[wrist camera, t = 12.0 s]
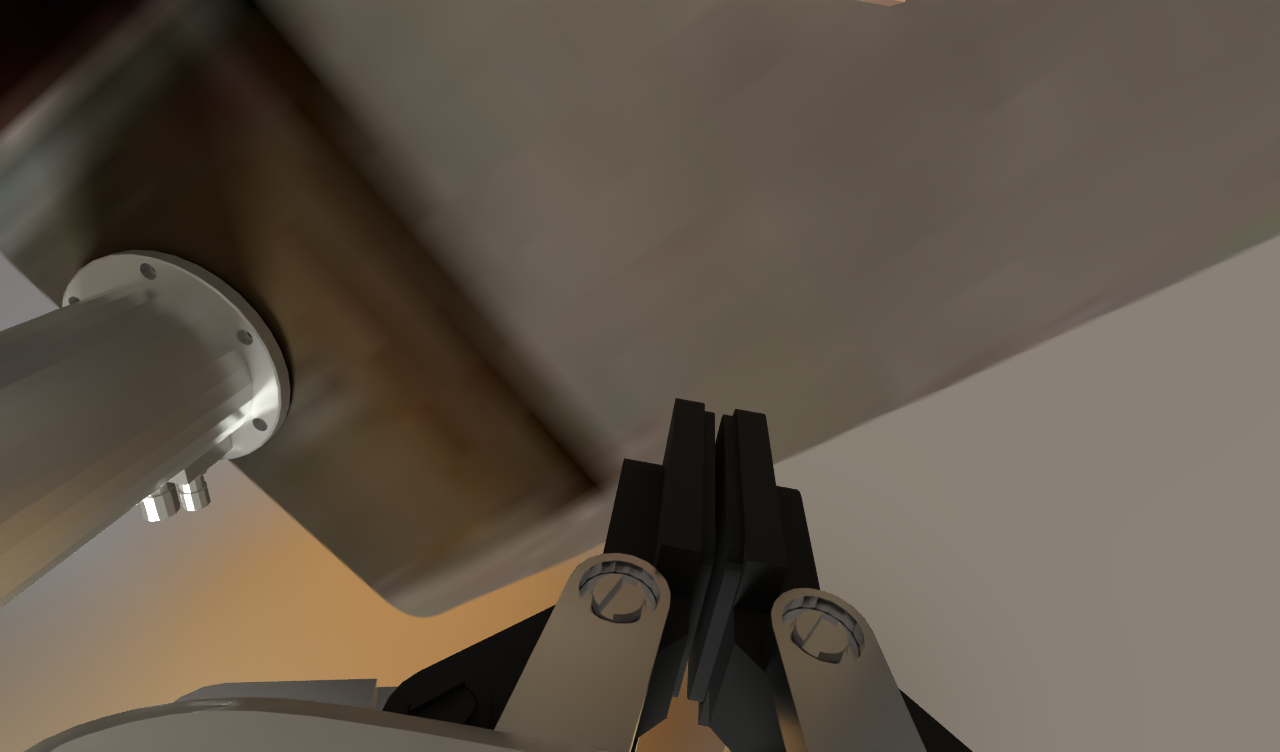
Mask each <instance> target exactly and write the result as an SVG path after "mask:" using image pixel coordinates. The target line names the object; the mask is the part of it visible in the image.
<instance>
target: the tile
mask: <svg viewBox="0 0 1280 752" xmlns="http://www.w3.org/2000/svg"><path fill="white" fill-rule="evenodd" d="M858 1H864V2H869V3H875V4H881V5H886V6H892V5H896V4H899V3H903V2H905V0H858Z"/></svg>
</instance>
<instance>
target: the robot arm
mask: <svg viewBox="0 0 1280 752" xmlns="http://www.w3.org/2000/svg"><path fill="white" fill-rule="evenodd" d="M289 402H290V383H289V376H288V370H287V367H286V364H285V361H284V358H283V355H282V352H281V350H280V348H279V346H278V344H277V342H276V341H275V339H274V337H273V335H272V333H271V331H270V330H269V328H268V327H267V326H266V324H265V323H264V322H263V320H262V319H261V317H260V316H259V315H258V313H257V312H256V311H255V310H254V309H253V308H252V307H251V306H250V305H249V304H248V303H247V301H246V300H245V299H244V298H243V297H242V296H241V295H240V294H239V293H237V292H236V291H235V290H234V289H232V288H231V287H230V286H229V285H227V284H226V283H225V282H224V281H222V280H221V279H220V278H218V277H217V276H215V275H213V274H212V273H210V272H208V271H207V270H205V269H203V268H202V267H200V266H198V265H196V264H194V263H192V262H189V261H187V260H184V259H182V258H180V257H177V256H174V255H170V254H166V253H162V252H157V251H151V250H128V251H123V252H117V253H113V254H110V255H108V256H105V257H102V258H99V259H96V260H93V261H92V262H90V263H89V264H87V265H86V266H84V267H83V268H81V269H80V270H79V271H78V272H77V273H76V274H75V276H74V277H73V278H72V279H71V281H70V282H69V284H68V286H67V288H66V291H65V293H64V296H63V304H62V308H60V309H57V310H54V311H52V312H49V313H47V314H44V315H42V316H39V317H37V318H34V319H31V320H29V321H26V322H23V323H21V324H18V325H15V326H13V327H10V328H8V329H5V330H2V331H0V608H2V607H3V606H5V605H6V604H7V603H9V602H10V601H11V600H13V599H14V598H15V597H17V596H18V595H19V594H20V593H22V592H23V591H24V590H26V589H27V588H28V587H30V586H31V585H32V584H34V583H35V582H36V581H38V580H39V579H40V578H42V577H43V576H44V575H46V574H47V573H48V572H49V571H51V570H52V569H53V568H55V567H56V566H57V565H59V564H60V563H61V562H63V561H64V560H65V559H67V558H68V557H69V556H71V555H72V554H73V553H74V552H76V551H77V550H78V549H80V548H81V547H82V546H84V545H85V544H86V543H88V542H89V541H90V540H91V539H93V538H94V537H96V536H97V535H98V534H99V533H101V532H102V531H103V530H105V529H106V528H107V527H109V526H110V525H111V524H113V523H114V522H115V521H116V520H118V519H119V518H121V517H122V516H123V515H125V514H126V513H127V512H129V511H130V510H131V509H132V508H134V507H135V506H136V505H138V506H139V509H140V513H141V515H142V517H143V519H145V520H148V521H160V520H163V519H167V518H169V517H171V516H173V515H175V514H176V513H177V512H178V511H179V509H180V502H179V498H178V494H177V490H176V486H175V483H176V484H179V493H180V497H181V501H182V504H183V508H184V509H186V510H188V511H196V510H200V509H203V508H205V507H206V506H208V504H209V503H210V502H211V501H210V497H209V492H208V488H207V484H206V482H205V481H204V477H203V474H205V473H206V471H207V469H208V468H209V467H211V466H212V465H213V464H215V463H216V462H217V461H218V460H223V459H233V458H237V457H240V456H243V455H247V454H249V453H251V452H253V451H254V450H256V449H257V448H259V447H261V446H262V445H263V444H264V443H266V442H267V441H268V440H269V439H270V438H271V437H272V436H273V435H275V434H276V433H277V431H278V430H279V428H280V427H281V425H282V424H283V422H284V420H285V417H286V414H287V411H288V408H289ZM688 657H689V659H688ZM687 661H688V685H687V698H688V700H693V701H698V702H699V718H698V721H699V722H698V724H699V725H703V726H708V727H710V728H711V729H712V730H713V731H714V732H715V734H716V735H717V736H718V737H719V738H720V739H721V740H722V741H723V743H724V744H725V745H726V746H725V749H724V752H972V751H971V750H970V749H969V748H968V747H967V746H965V745H964V744H963V743H962V742H961V741H960V740H958V739H957V738H956V737H955V736H954V735H952V734H951V733H950V732H949V731H948V730H947V729H946V728H944V727H943V726H942V725H941V724H940V723H939V722H937V721H936V720H935V719H934V718H933V717H931V716H930V715H929V714H928V713H927V712H926V711H924V710H923V709H922V708H921V707H920V706H919V705H918V704H916V703H915V702H914V701H913V700H911V699H910V698H909V697H908V696H907V695H906V694H905V693H903V692H902V691H901V690H900V689H899V688H898V687H897V684H896V682H895V680H894V677H893V675H892V673H891V671H890V669H889V666H888V664H887V662H886V660H885V658H884V655H883V653H882V651H881V649H880V646H879V644H878V642H877V640H876V638H875V635H874V633H873V631H872V629H871V628H870V626H869V624H868V623H867V621H866V620H865V618H864V617H863V616H862V615H861V614H860V613H859V612H858V611H857V610H856V609H855V608H854V607H853V606H851V605H850V604H848V603H847V602H845V601H844V600H842V599H841V598H839V597H837V596H835V595H832V594H830V593H827V592H825V591H822V590H820V587H819V582H818V577H817V572H816V567H815V562H814V557H813V552H812V547H811V542H810V537H809V532H808V527H807V523H806V517H805V512H804V508H803V502H802V497H801V494H800V492H799V491H798V490H797V489H791V488H785V487H780V486H776V482H775V475H774V468H773V461H772V455H771V448H770V441H769V434H768V427H767V421H766V416H765V414H762V413H756V412H750V411H745V410H739V409H735V411H734V413H733V416H729V415H724V414H723V416H722V419H721V422H720V426H719V431H718V435H717V439H716V443H715V413H713V412H707V411H705V404H704V403H700V402H694V401H688V400H683V399H677V398H676V400H675V404H674V409H673V414H672V419H671V424H670V429H669V434H668V440H667V445H666V450H665V455H664V460H663V465H658V464H653V463H647V462H641V461H636V460H630V459H625V458H624V461H623V466H622V470H621V475H620V479H619V484H618V489H617V493H616V498H615V502H614V507H613V511H612V516H611V520H610V525H609V529H608V534H607V539H606V543H605V548H604V552H603V554H600V555H597V556H594V557H591V558H588V559H587V560H585V561H584V562H582V563H581V564H579V565H578V566H577V567H576V569H575V570H574V571H573V573H572V574H571V575H570V577H569V580H568V582H567V584H566V586H565V587H564V590H563V592H562V593H561V596H560V598H559V600H558V602H557V604H556V605H554V606H552V607H550V608H548V609H546V610H544V611H542V612H540V613H538V614H536V615H534V616H531V617H530V618H528V619H526V620H523V621H521V622H519V623H517V624H515V625H513V626H511V627H509V628H507V629H505V630H503V631H501V632H499V633H497V634H495V635H493V636H491V637H489V638H487V639H484V640H482V641H481V642H479V643H476V644H475V645H472V646H470V647H468V648H466V649H464V650H462V651H460V652H458V653H456V654H454V655H452V656H450V657H448V658H446V659H444V660H442V661H440V662H437V663H435V664H433V665H431V666H429V667H427V668H425V669H423V670H421V671H419V672H418V673H416V674H414V675H413V676H411V677H410V678H408V679H407V680H405V681H404V682H402V683H401V684H400V685H399V686H398V687H378V684H377V679H351V680H350V679H348V680H313V681H279V682H246V683H223V684H218V685H212V686H207V687H203V688H200V689H198V690H196V691H193V692H191V693H189V694H187V695H184V696H182V697H180V698H179V699H178V700H176V701H175V702H173V703H169V704H163V705H157V706H151V707H145V708H138V709H134V710H129V711H126V712H122V713H118V714H114V715H110V716H106V717H102V718H99V719H96V720H93V721H90V722H87V723H84V724H81V725H77V726H75V727H72V728H70V729H68V730H65V731H63V732H61V733H58V734H56V735H54V736H52V737H49V738H47V739H44V740H43V741H41V742H39V743H37V744H36V745H34V746H32V747H30V748H29V749H27V750H25V751H24V752H636V749H637V744H638V740H639V737H640V736H641V735H643V734H644V733H646V732H647V731H649V730H650V729H651V728H653V727H654V726H656V725H657V724H658V723H660V722H661V721H663V720H664V719H666V717H667V713H668V709H669V706H670V702H671V698H672V697H678V695H679V691H680V687H681V684H682V680H683V676H684V672H685V669H686V665H687Z"/></svg>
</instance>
